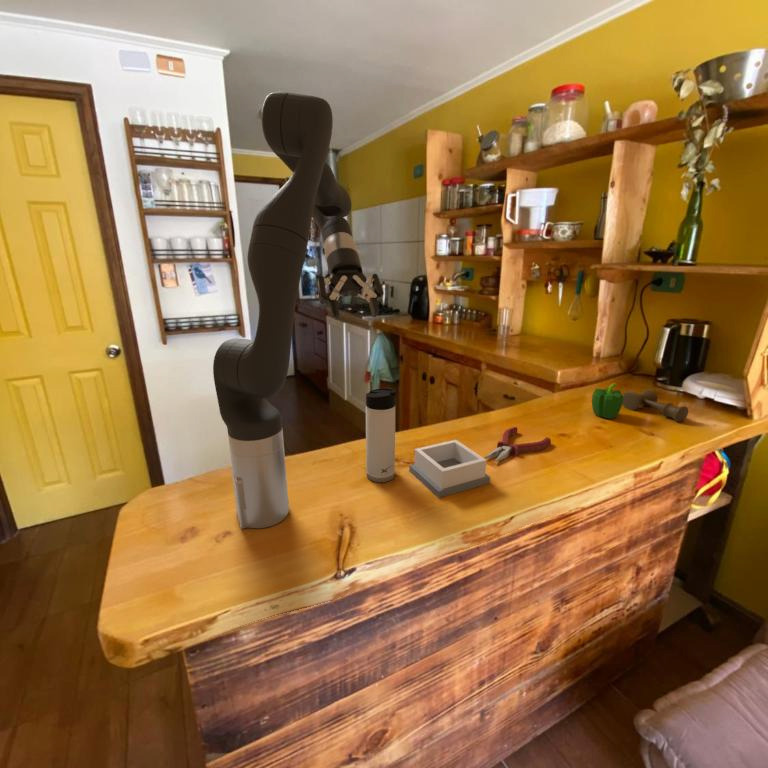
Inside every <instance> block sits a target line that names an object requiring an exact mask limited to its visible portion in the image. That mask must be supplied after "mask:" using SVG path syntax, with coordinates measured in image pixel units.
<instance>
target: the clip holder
mask: <svg viewBox="0 0 768 768" xmlns="http://www.w3.org/2000/svg"><path fill="white" fill-rule="evenodd" d="M408 467H409V468H408V469H409V470H408V471H409V473H411V474H412V476H414V477H415V478H416V479H417V480H419V482H421V483H422V485H424V487H426V488H427V489H428V490H429V491H430V492H431V493H432V494H433V495H434V496H436V498H438V499H440V498H444V497H446V496H450V495H454V494H457V493H461V492H465V491H467V490H471V489H475V488H479V487H482V486H484V485H488V484H491V476H490V475H488V474H487V473H486V470H487V469H486V468H487V459H484V457H483V456H481V455H480V454H478V453H477V452H475V451H473V450H472V449H471V448H470V447H468V446H466V445H464V444H463V443H462V442H460V441H459V440H458V439H454V440H447V441H444V442H439V443H435V444H430V445H426V446H423V447H418V448H415V449H414V462H413V464H409V466H408Z"/></svg>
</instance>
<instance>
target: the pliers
mask: <svg viewBox="0 0 768 768" xmlns="http://www.w3.org/2000/svg"><path fill="white" fill-rule="evenodd" d="M515 433H516V434H517V433H518V427H516V426H513V427H512V426H511V427H510V428H507V429H506V430H505V431H504V432H503V434H502V441H500V440H499V441H498V442H497V446H496V448H495V449H494V450H492V451H491V452H490V453H489V454H487V455H486V456H485V457H483V458H484V459H486V460H487V459H492V458H496V457H497V458H496V459H494V463H497V462H500V461H503V460H504V459H506V458H508V457H509V454H510V455H514V456H515V457H519V454H523V453H524V454H525V453H533V452H534V453H535V452H540V451H543V450H546V449H547V448H549V447H550V446H551V444H552V441H551V440H552V439H551V438H550V437H548V436H547V437H545V438H543V439H542V440H539V441H533V442H527V443H516V444H514V443H512V444H509V438H510V437H512V436H514V435H516V434H515ZM513 434H514V435H513ZM511 435H512V436H511ZM509 436H510V437H509ZM508 444H509V446H508Z"/></svg>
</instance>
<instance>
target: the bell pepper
mask: <svg viewBox="0 0 768 768" xmlns="http://www.w3.org/2000/svg"><path fill="white" fill-rule="evenodd" d="M617 385H618V384H617V383H615V382H613V383H611V384H610V385H609V386H608V387H607V388H603V389H602V388H595V389H594V391H593V394H592V397H591V407H592V413H594V415H595V416H596V417H603V418H605V419H611V420H613V419H615V418H617V417H618V415H619V413H620V411H621V409H622V407H623V399H624V398H623V395H624V394H622V393H623V392H621V390H619V389H615V390H613V388H614V387H616V386H617Z"/></svg>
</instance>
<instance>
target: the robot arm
mask: <svg viewBox="0 0 768 768" xmlns="http://www.w3.org/2000/svg"><path fill="white" fill-rule="evenodd" d="M261 110H262V111H261V128H262V133H263V136H264V139H265V141H266V144H267V145H268V147H269V148H270V150H271V151H272V152H273V153H274V154H275V155H276V157H277V158H279V159H280V160H281V161H282V163H284V165H285V166H286V167H288V169H289V170H290V171H291V172H292V174H291V176H290V177H289V179H288V180H287V181H286V182H285V183H284V184H283V186H281V187H280V189H279V190H277V191H276V192H275V194H273V195H272V197H271V198H269V199H268V201H267V202H266V203H265V204H264V205H263V206H262V207H261V209H260V210H259V211H258V213H257V214H256V216H255V219H254V221H253V224H252V230H251V234H250V238H249V239H250V240H249V244H248V250H247V265H248V267H247V268H248V271H249V274H250V277H251V281H252V283H253V287H254V290H255V293H256V296H257V301H258V320H257V326H256V331H255V336H254V339H246V338H239V337H236V338H230V339H227V340H225V341H223V343H221V344H220V346H218V348H217V350H216V352H215V355H214V358H213V366H212V374H213V375H212V376H213V381H214V387H215V392H216V398H217V403H218V409H219V415H220V416H221V419H222V421H223V423H224V424H225V425H226V431H227V437H228V444H229V445H228V446H229V451H230V452H229V453H230V460H231V477H232V484H233V493H234V500H235V502H234V503H235V509H236V515H237V518H238V522H239V528H240V529H247V528H250V529H265V528H269V527H272V526H275V525H277V524H279V523H281V522H282V521H284V519H286V518H287V516H288V515H289V513H290V505H289V504H290V503H289V493H288V480H287V468H286V467H287V465H286V455H285V443H284V431H283V418H282V417H283V416H282V415H281V412H280V411H279V409H277V408H276V407H275V406H273V405H272V404H271V403H270V402H269V401H268V400H267V399H271V398H273V397H275V396H277V394H278V393H280V391H282V388H283V387H284V385H285V382H286V380H287V376H288V372H289V367H290V358H291V349H292V339H293V338H292V337H293V330H294V329H293V328H294V320H295V319H294V318H295V312H296V305H297V300H298V299H297V297H298V293H299V288H300V284H301V283H300V282H301V276H302V272H303V268H304V263H305V259H306V254H307V249H308V244H309V239H310V229H311V225H312V219H313V221H314V222H315V224H316V225H317V227H318V228H319V231H320V234H321V237H322V241H323V245H324V256H325V261H326V263H327V269H328V273H329V278H328V277H327V278H325V277H324V275H318V277H317V283H316V284H317V292H318V298H319V299H318V300H319V304H321V305H327V306H329V310H330V315H331V317H332V318H334V321H335V320H336V321H337V320H339V319H340V310H339V306H338V305H339V304H338V300H339V298H340V297H341V296H343V297H349V296H352V297H357V296H359V297H360V298H361V299H362V300H366V301H367V302H368V303H369V304H368V305H369V309H370V313H371V316H372V318H377V315H379V311H380V307H379V303H378V302H381V301H382V299H383V296H384V294H385V293H384V289H383V287H382V285H381V281H380V278H379V275H378V274H377V273H373V274H372V276H366V275H365V274H364V273H363V272H364V271H363V268H362V263H361V259H360V255H359V253H358V247H357V245H356V243H355V240H354V237H353V233H352V230H351V226H350V224H349V221H348V220H347V219H346V217H347V216H349V214H350V213H351V211H352V206H353V205H352V200H351V197H350V195H349V193H348V191H347V190H346V189H345V188H344V187H343V185H341V184H340V183H339V182H337V179H336V177H335V174H334V171H333V170H332V167H331V166H330V165H329V164H328V163H327V162H326V161H327V156H328V153H329V148H330V145H331V141H332V140H331V139H332V135H333V127H334V126H333V121H334V120H333V119H334V118H333V112H332V107H331V105H330V104H329V102H328V101H327V100H326V99H324V98H322V97H319V96H314V95H309V94H300V93H293V92H289V91H288V92H287V91H273V92H271V93H269V94H267V96H266V97H265V99H264V101H263V104H262V109H261ZM328 285H329V286H330V287H331V288H332V289H333V291H332V293H331V294H330V295H327V290H326V289H327V288H328ZM371 289H372V290H371Z"/></svg>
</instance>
